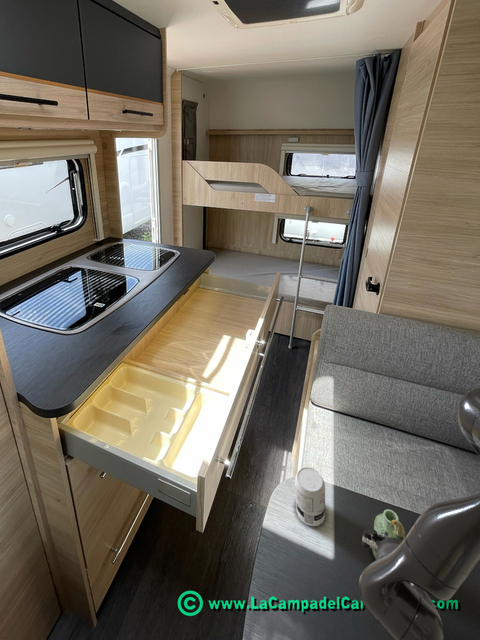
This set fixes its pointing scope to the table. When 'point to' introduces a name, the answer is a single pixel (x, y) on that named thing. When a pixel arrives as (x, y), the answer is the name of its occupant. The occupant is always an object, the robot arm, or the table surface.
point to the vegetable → (397, 531)
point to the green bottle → (384, 523)
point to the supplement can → (310, 496)
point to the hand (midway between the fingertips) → (398, 543)
